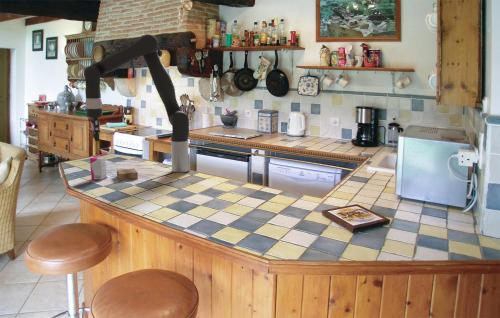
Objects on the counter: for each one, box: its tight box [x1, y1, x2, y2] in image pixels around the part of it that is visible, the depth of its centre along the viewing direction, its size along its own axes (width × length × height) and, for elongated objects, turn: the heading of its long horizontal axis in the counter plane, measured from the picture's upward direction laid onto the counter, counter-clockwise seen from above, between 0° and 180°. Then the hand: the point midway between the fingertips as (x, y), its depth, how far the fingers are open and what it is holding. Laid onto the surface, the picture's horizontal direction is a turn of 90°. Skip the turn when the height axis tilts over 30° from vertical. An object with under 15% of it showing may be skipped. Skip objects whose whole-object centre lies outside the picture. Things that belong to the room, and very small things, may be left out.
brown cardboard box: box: [116, 168, 139, 182], centre depth 213 cm, size 9×9×4 cm
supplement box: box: [89, 155, 108, 182], centre depth 209 cm, size 6×6×12 cm
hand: (96, 139), depth 206 cm, fingers open, 8 cm apart
